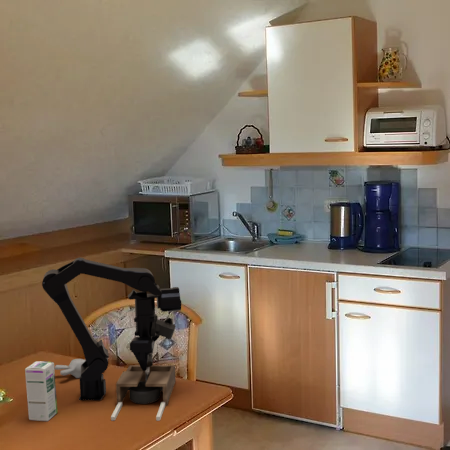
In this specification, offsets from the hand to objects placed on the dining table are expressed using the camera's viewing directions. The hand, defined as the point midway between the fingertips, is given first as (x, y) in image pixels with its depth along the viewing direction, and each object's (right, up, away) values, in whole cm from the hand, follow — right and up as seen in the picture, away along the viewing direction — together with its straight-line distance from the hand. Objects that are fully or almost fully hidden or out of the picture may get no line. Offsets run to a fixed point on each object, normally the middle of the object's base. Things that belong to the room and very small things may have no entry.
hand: (147, 365), depth 200 cm
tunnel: (0, -8, 0) cm, 8 cm away
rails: (-1, -10, -14) cm, 17 cm away
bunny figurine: (-23, -7, +16) cm, 28 cm away
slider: (0, -8, +1) cm, 8 cm away
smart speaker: (0, -9, -4) cm, 10 cm away
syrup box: (-26, -11, -15) cm, 32 cm away
